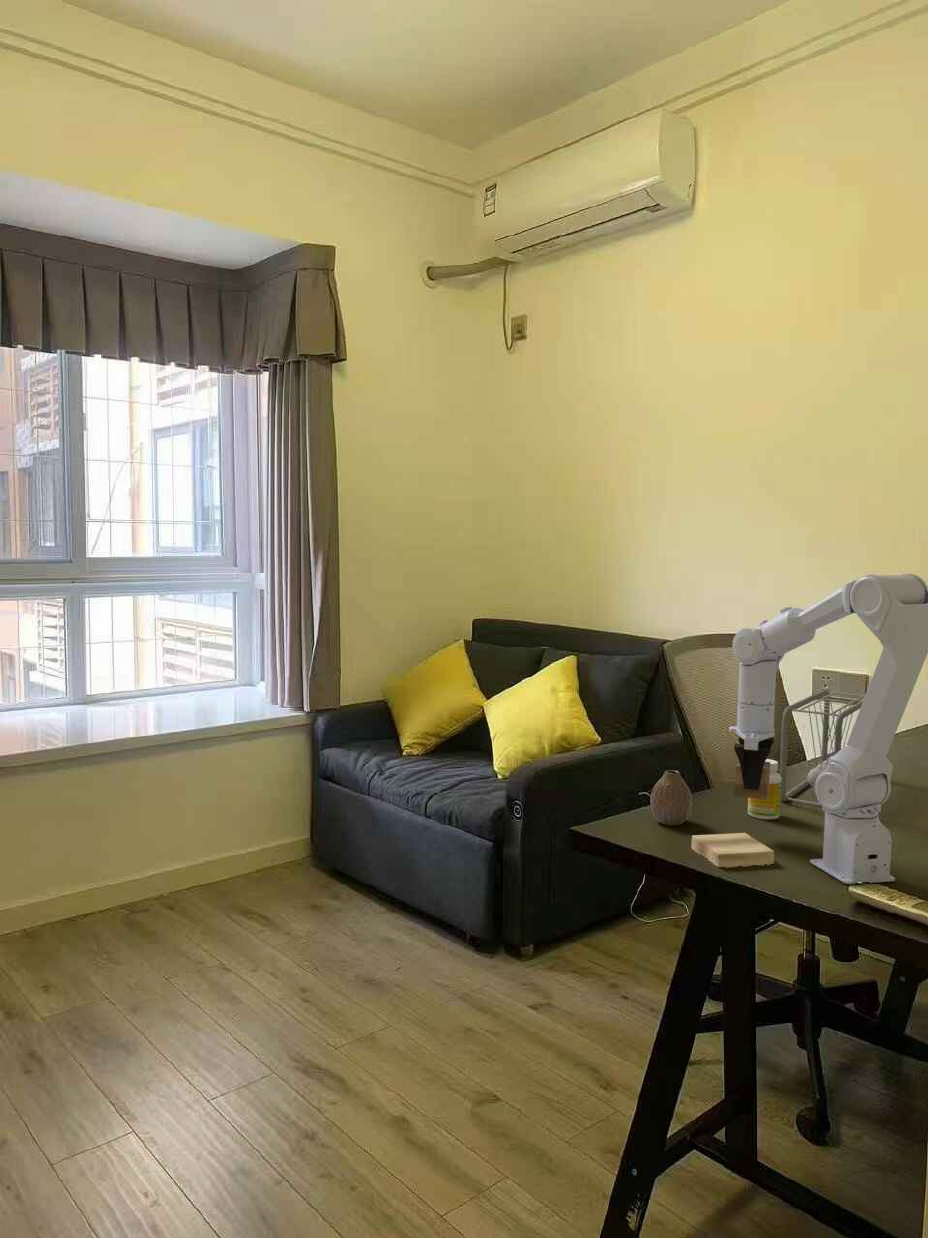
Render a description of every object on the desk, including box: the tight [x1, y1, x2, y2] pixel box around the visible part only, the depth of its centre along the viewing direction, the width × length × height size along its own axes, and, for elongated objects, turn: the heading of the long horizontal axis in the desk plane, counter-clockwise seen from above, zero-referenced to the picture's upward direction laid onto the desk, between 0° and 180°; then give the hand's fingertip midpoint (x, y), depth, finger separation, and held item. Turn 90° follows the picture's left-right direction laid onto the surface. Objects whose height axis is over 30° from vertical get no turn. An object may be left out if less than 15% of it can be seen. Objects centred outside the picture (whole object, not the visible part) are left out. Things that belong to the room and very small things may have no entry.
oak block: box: [691, 832, 775, 868], centre depth 150 cm, size 9×9×2 cm
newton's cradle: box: [779, 688, 866, 807], centre depth 189 cm, size 30×10×18 cm, turn 145°
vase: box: [649, 769, 693, 826], centre depth 167 cm, size 7×7×9 cm
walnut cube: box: [733, 759, 770, 800], centre depth 160 cm, size 5×5×5 cm
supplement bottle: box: [747, 758, 782, 820], centre depth 172 cm, size 5×5×10 cm
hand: (752, 785), depth 160 cm, fingers closed on walnut cube, 5 cm apart
